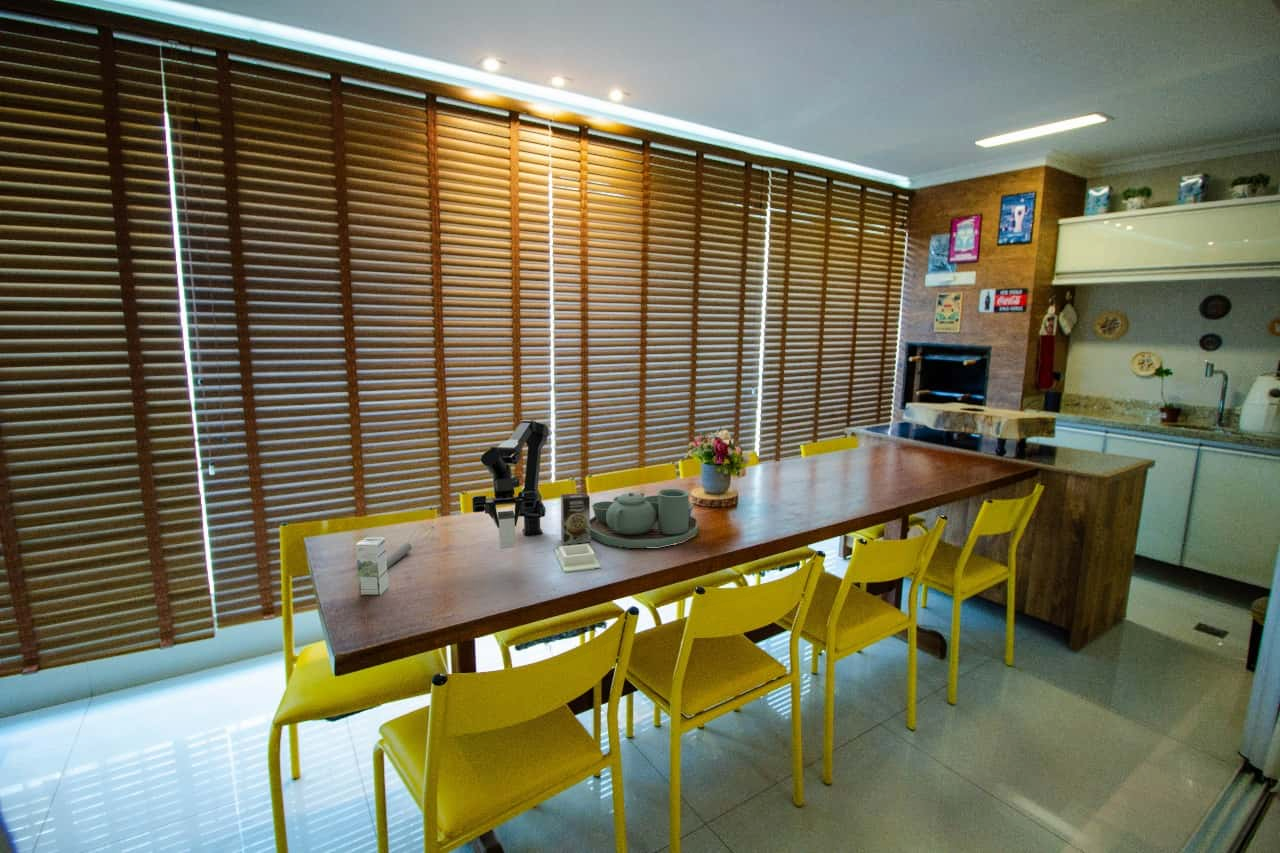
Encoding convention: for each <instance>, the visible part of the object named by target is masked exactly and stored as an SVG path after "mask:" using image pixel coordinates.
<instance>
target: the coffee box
mask: <svg viewBox="0 0 1280 853" xmlns="http://www.w3.org/2000/svg"><path fill="white" fill-rule="evenodd" d="M590 500H591V498H590V495H588V493H587V492H583V493H581V492H580V493H567V494H566V493H565V494H563V493H562V494H560V513H561V514H560V524H561V525H560V526H561V528H560V529H561V530H560V531H561V532H560V533H561V534H560V536H561V538H560V539H561V542H562V544H563V546H569V545H568V544H570V545H578V544H577V543H582V544H586V543H585V542H590V543H591V537H590V519H591V518H590V517H591V516H590V513H591V512H590V511H591V510H590V509H591V506H590V505H591V504H590Z"/></svg>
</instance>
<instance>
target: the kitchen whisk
mask: <svg viewBox="0 0 1280 853" xmlns="http://www.w3.org/2000/svg"><path fill="white" fill-rule="evenodd" d="M424 524H425V522H423V523H421V524H420V525H419V526H418V527H417V529H415V530H414V531H413V533H412V532H411V535H410V536H409V538H408V539H407V541H406V543H404V544H403V545H402V546H400V547H399V548H398V549H397V550H394V551H393V552H392V553H391V554H390V555H389V556H386V561H387V570H388V569H389V568H390V567H391V566H393V565H394V564H395V563H396V562H397V561H399V560H400V559H401V558H402V557H404V556H405V555H406V554H407V553H410V551H411V550H412V549H416V548H420V546H421V545H423V544H424V543H425V541H423V542H421V543H417V542H419V541H420V540H421V539H423V538H426V537H427V538H428V537H429V535H430V534H431V533H432V532H433V533H435V530H436V529H437V528H438V526H437V525H435V526H433V525H431V524H432V522H429V524H427V525H425V526H424ZM422 527H424V529H426V528H427V527H429V528H427V529H426V530H423V532H422V531H421V533H418V534H417V536H415V537H414V538H413V539H412V537H413V535H414V534H415V533H416V531H417V530H418V529H419V528H422ZM428 530H430V532H428V533H426V535H424V536H423V537H421V538H420V539H418V540H417V541H415V542H414V543H412V542H413V541H414V540H415V539H417V537H419V536H420V535H421V534H423V533H424V532H426V531H428ZM436 531H437V532H436V534H433V535H432V537H431V538H430V540H431V539H433V538H435V537H436V536H437V534H438V530H436ZM411 539H412V540H411ZM411 543H412V544H411ZM415 543H417V544H418V545H417V544H416V546H415V545H414V544H415ZM412 545H414V546H412Z"/></svg>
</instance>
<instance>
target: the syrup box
mask: <svg viewBox="0 0 1280 853" xmlns="http://www.w3.org/2000/svg"><path fill="white" fill-rule="evenodd" d="M386 545H387V544H386V538H385V537H363V538H362V539H360V540H358V541H357V543H356V544H355V554H356V566H357V579H358V591H359V596H381V595H382V594H383V593H384V592H386V590H387V589H388V588H389V578H388V569H387V561H386V558H387V547H386Z"/></svg>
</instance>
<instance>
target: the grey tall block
mask: <svg viewBox="0 0 1280 853" xmlns="http://www.w3.org/2000/svg"><path fill="white" fill-rule="evenodd" d="M514 515H515V511H514V510H505V511H497V516H498V520H499V528H497V529H498V530H497V532H498V545H499V550H504V549H505V550H506V549H514V548H516V527H515V518H514Z"/></svg>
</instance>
